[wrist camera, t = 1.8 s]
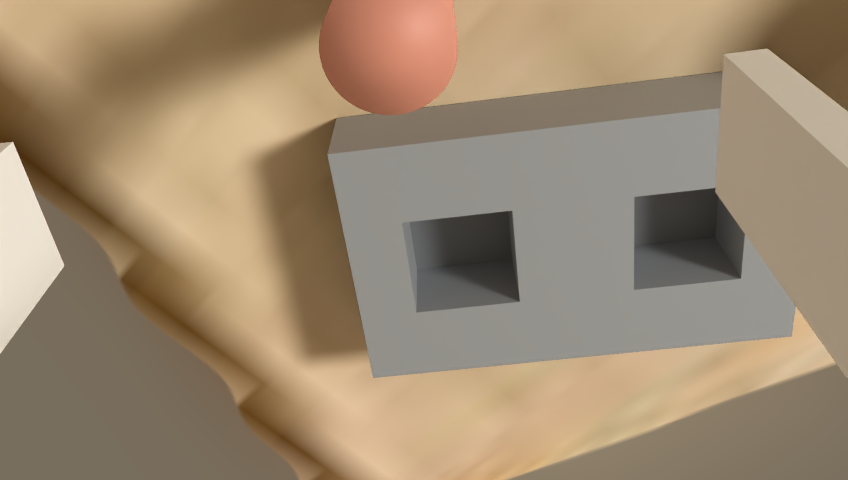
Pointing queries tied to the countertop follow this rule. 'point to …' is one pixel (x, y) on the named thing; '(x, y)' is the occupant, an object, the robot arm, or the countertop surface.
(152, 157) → the countertop surface
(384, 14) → the dowel
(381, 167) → the bore block
